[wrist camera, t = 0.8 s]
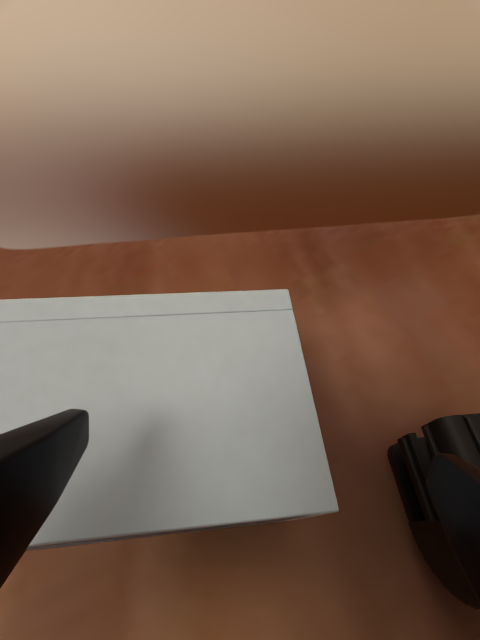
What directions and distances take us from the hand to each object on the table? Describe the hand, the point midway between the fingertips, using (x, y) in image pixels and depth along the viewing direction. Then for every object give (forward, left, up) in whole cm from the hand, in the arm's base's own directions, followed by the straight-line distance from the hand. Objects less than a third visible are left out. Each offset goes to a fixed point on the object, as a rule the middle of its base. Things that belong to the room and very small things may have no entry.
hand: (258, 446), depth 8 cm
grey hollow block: (+1, +5, -12) cm, 13 cm away
